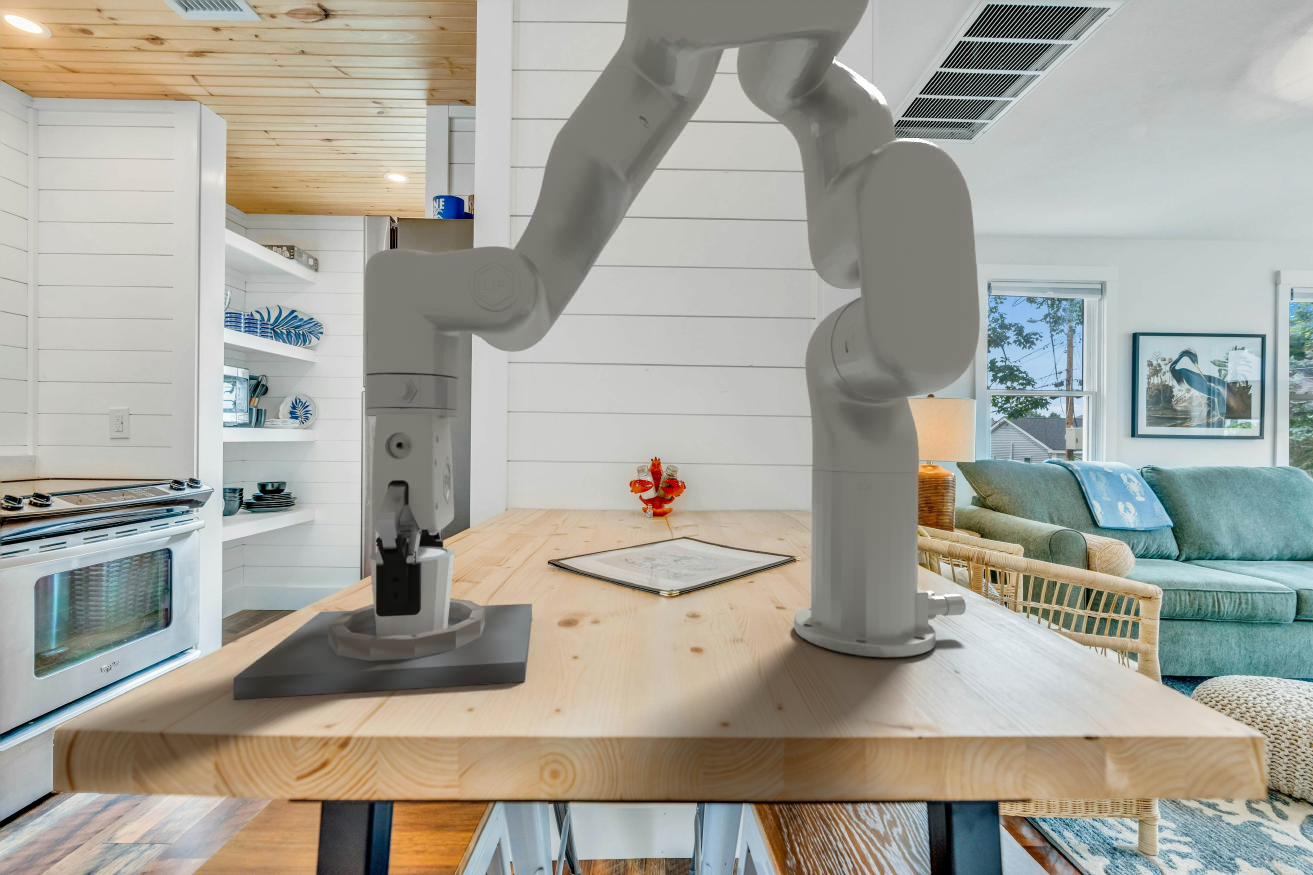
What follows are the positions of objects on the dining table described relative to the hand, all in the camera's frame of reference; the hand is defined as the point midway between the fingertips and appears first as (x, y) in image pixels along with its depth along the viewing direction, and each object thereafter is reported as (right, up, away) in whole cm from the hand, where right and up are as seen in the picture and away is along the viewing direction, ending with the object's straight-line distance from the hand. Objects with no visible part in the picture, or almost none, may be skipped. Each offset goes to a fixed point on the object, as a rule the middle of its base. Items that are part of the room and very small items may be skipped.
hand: (413, 597), depth 52 cm
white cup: (0, -3, 0) cm, 3 cm away
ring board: (0, -5, 0) cm, 5 cm away
